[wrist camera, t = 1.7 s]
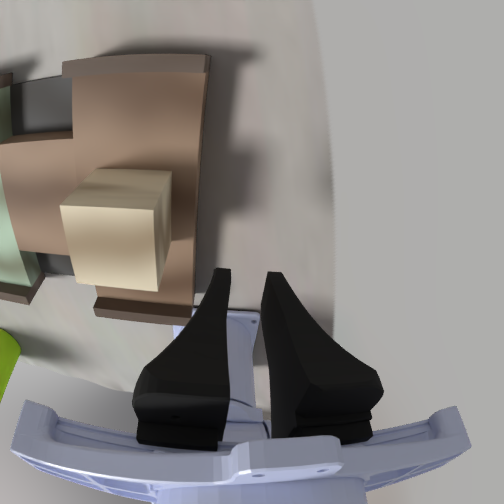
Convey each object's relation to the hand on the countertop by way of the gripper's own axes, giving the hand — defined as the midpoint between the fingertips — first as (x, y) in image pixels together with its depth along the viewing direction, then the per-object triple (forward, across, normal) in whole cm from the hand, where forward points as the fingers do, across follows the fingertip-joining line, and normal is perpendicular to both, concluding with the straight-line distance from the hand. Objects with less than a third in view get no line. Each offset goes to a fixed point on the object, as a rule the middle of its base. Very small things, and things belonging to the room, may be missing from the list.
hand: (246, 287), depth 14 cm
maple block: (+7, +7, 0) cm, 10 cm away
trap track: (+9, +15, 0) cm, 17 cm away
